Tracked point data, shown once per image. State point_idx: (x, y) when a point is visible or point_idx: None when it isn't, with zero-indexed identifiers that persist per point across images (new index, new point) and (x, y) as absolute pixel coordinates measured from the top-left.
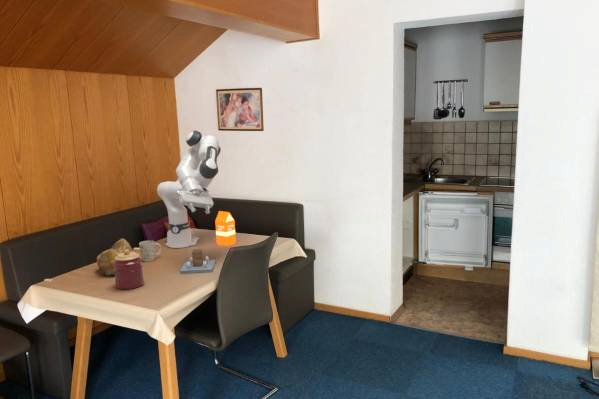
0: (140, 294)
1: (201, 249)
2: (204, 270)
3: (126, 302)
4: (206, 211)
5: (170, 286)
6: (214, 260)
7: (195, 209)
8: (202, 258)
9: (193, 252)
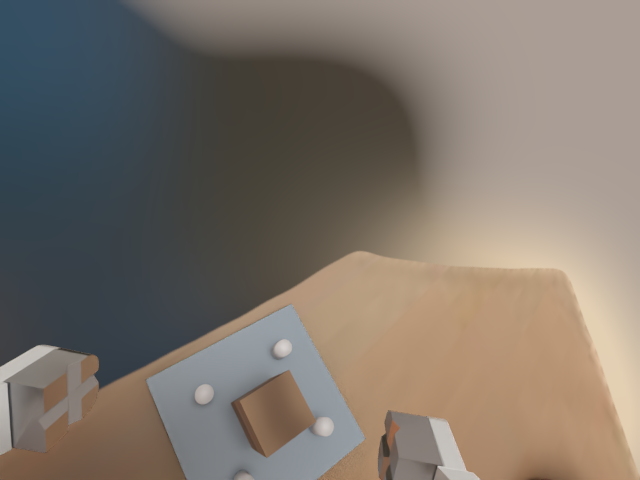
0: (557, 406)
1: (252, 394)
2: (306, 333)
3: (603, 394)
4: (64, 402)
5: (467, 360)
6: (160, 377)
7: (397, 421)
8: (242, 396)
9: (309, 412)
